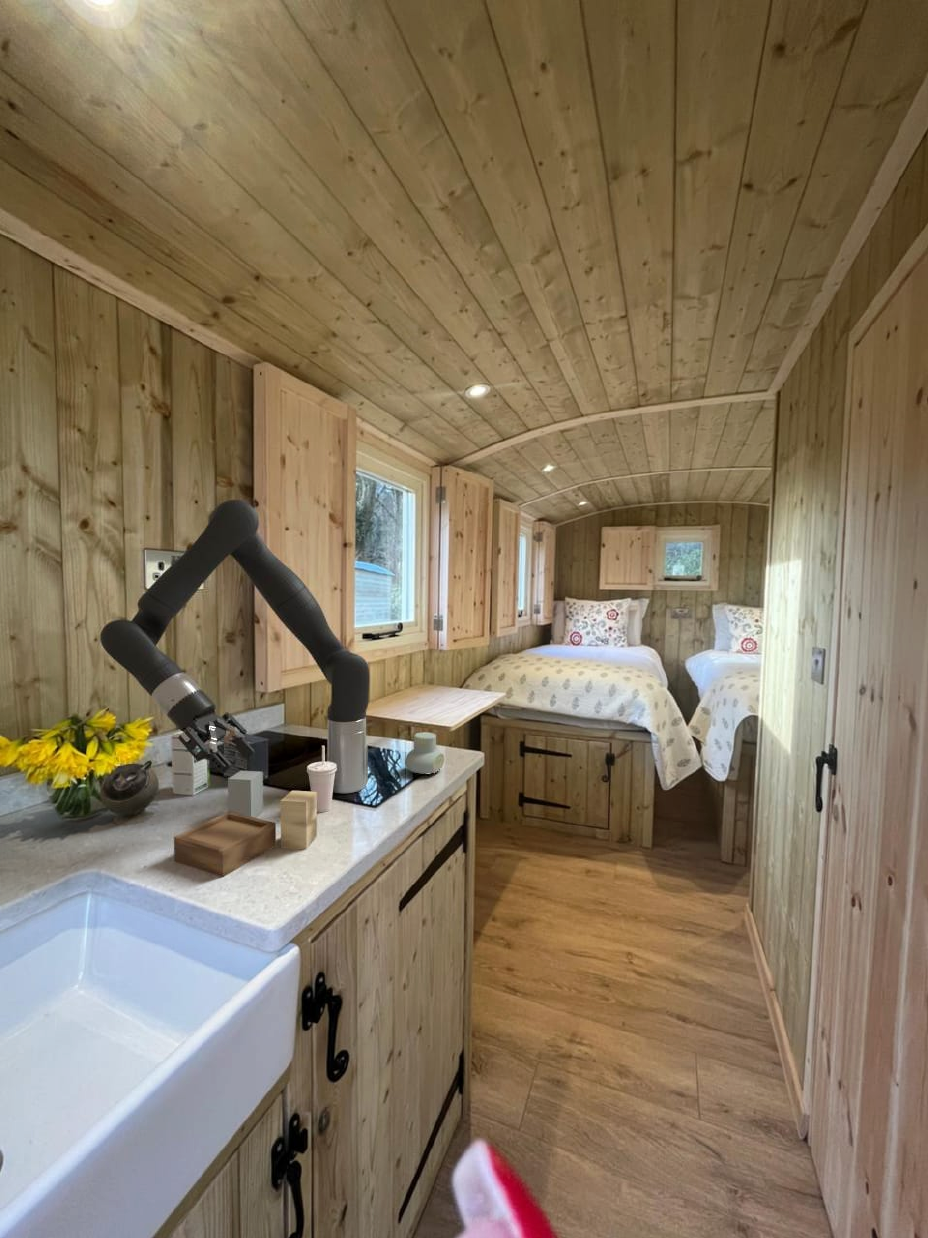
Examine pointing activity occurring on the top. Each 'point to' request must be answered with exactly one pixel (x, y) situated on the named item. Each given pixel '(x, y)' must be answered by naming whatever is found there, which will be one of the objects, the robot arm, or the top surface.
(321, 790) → the smoothie
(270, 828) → the walnut tray
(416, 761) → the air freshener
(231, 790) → the grey block
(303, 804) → the oak block
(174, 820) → the top surface
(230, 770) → the small box
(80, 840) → the top surface
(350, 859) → the top surface
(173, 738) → the syrup box
